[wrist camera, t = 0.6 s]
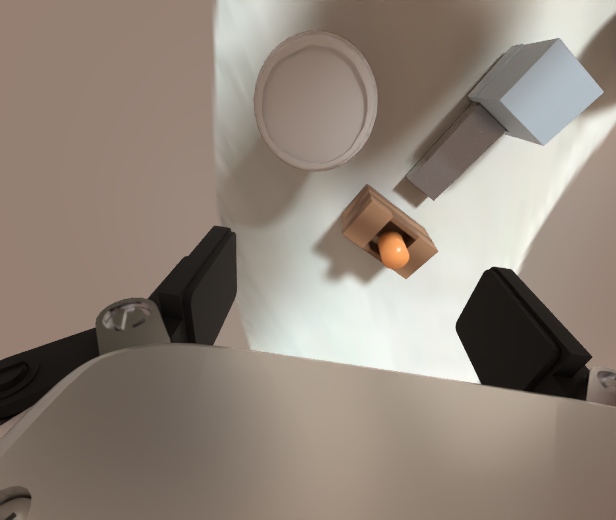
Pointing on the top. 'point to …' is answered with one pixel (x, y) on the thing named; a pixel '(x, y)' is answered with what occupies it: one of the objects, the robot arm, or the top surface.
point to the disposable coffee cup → (315, 101)
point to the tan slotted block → (385, 229)
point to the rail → (456, 150)
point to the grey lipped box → (536, 90)
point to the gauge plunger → (393, 250)
